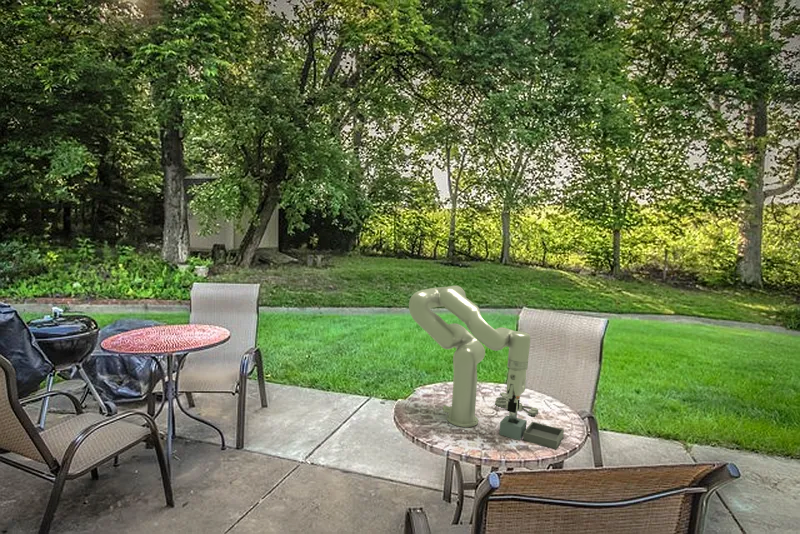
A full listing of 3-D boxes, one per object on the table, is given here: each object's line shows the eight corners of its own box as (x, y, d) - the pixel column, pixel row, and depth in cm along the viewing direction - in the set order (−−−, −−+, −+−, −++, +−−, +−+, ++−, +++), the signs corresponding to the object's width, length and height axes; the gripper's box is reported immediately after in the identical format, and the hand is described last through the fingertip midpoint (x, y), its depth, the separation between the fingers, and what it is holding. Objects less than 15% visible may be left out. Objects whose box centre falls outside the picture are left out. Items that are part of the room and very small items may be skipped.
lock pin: (505, 424, 178) (507, 394, 177) (508, 421, 182) (511, 391, 181) (515, 427, 176) (518, 396, 175) (518, 424, 180) (521, 393, 179)
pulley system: (512, 420, 194) (542, 416, 199) (512, 409, 194) (543, 405, 198) (481, 399, 220) (509, 395, 225) (481, 389, 220) (509, 386, 224)
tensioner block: (499, 434, 178) (500, 421, 177) (505, 427, 185) (506, 415, 184) (519, 440, 174) (520, 427, 173) (525, 432, 181) (526, 420, 180)
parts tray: (522, 440, 174) (523, 432, 174) (531, 428, 185) (532, 421, 184) (556, 449, 168) (557, 441, 168) (563, 437, 178) (563, 429, 178)
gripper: (521, 371, 168) (516, 419, 170) (533, 361, 182) (528, 406, 184) (501, 366, 172) (496, 414, 174) (514, 357, 186) (509, 401, 188)
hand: (513, 409), depth 179 cm, fingers closed on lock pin, 3 cm apart
